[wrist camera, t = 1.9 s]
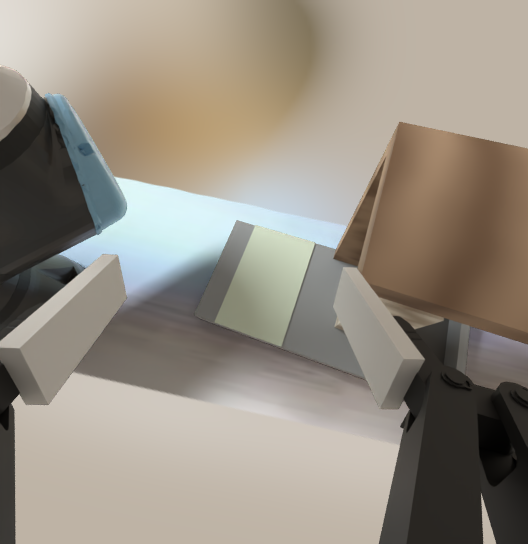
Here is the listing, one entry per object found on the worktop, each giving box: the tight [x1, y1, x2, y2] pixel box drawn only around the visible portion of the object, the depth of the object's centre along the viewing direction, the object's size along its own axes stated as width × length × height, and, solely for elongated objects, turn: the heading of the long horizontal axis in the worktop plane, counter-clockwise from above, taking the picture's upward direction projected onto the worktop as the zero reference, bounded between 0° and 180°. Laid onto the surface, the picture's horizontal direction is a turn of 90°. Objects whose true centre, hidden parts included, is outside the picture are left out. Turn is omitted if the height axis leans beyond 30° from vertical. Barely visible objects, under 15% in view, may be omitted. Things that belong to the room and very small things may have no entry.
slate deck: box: [194, 220, 470, 380], centre depth 35 cm, size 33×15×3 cm, turn 70°
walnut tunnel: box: [333, 122, 528, 344], centre depth 24 cm, size 10×12×20 cm
